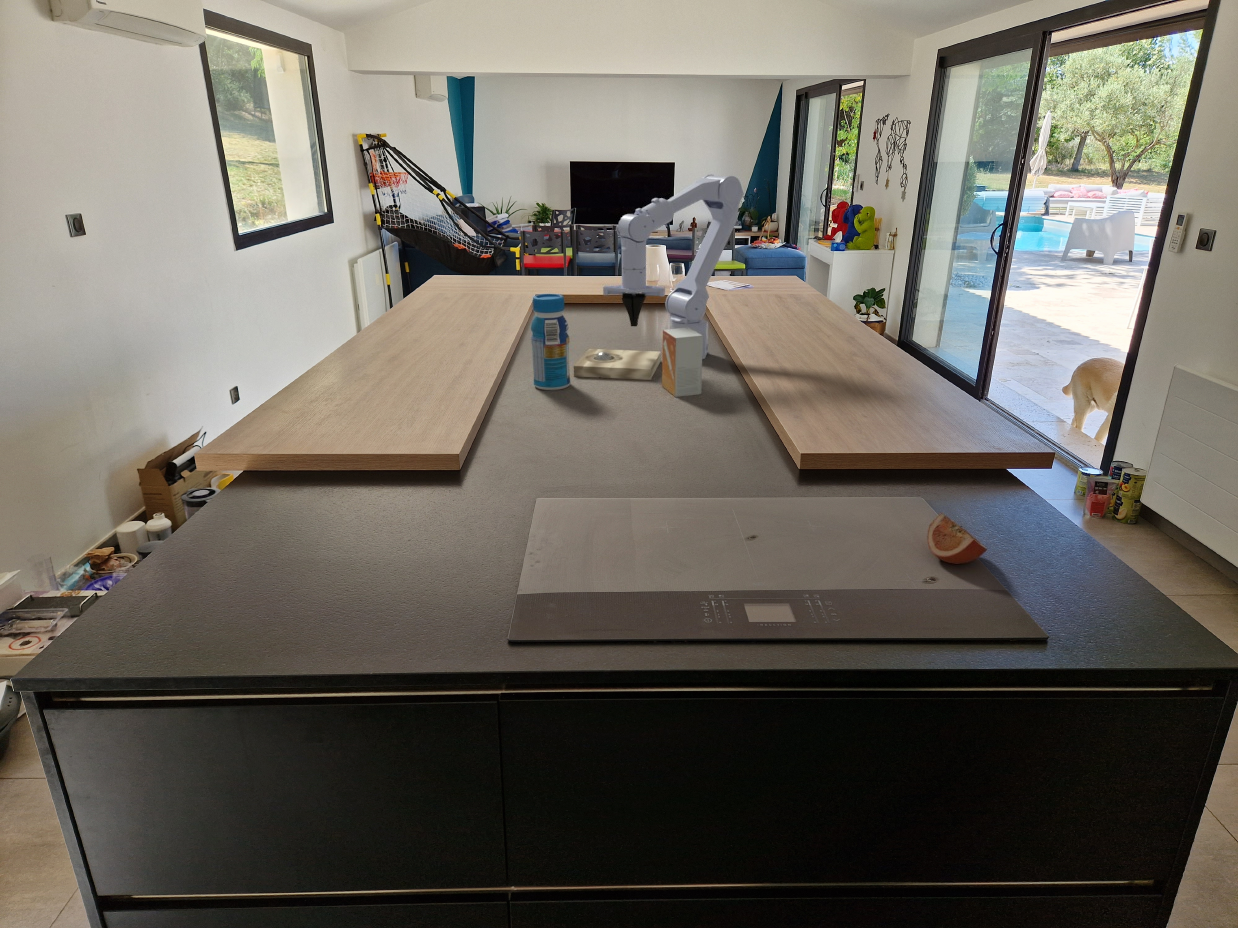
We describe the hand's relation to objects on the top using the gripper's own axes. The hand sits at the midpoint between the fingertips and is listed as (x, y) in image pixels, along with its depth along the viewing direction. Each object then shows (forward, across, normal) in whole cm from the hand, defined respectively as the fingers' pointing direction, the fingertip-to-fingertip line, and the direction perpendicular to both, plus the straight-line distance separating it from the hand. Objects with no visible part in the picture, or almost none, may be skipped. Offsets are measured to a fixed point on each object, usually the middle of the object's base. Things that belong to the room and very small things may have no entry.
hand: (634, 325), depth 195 cm
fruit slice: (+10, +57, -90) cm, 107 cm away
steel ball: (+7, -7, -5) cm, 11 cm away
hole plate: (+9, -3, -5) cm, 11 cm away
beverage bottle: (+10, -15, -21) cm, 28 cm away
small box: (+10, +14, -21) cm, 27 cm away
